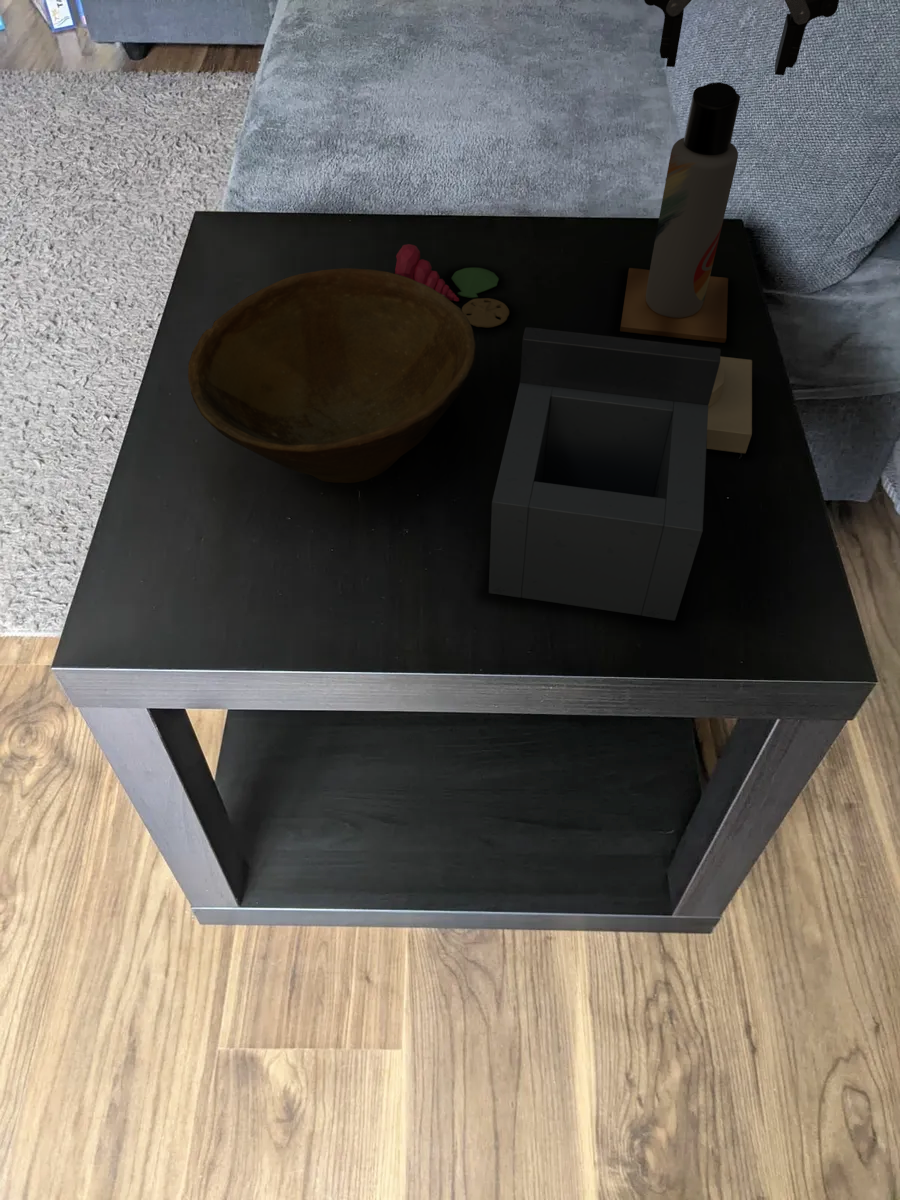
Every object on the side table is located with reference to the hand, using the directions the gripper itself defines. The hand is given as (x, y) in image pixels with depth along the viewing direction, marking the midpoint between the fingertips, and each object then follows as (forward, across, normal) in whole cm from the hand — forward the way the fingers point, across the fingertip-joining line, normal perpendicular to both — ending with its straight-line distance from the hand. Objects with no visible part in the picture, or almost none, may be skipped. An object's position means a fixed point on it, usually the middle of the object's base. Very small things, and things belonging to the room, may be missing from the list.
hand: (724, 67), depth 75 cm
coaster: (+22, 0, 0) cm, 22 cm away
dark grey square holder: (+22, -5, -32) cm, 39 cm away
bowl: (+22, -27, -25) cm, 43 cm away
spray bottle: (+22, 0, 0) cm, 22 cm away
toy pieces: (+22, -22, -3) cm, 32 cm away
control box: (+22, +1, -15) cm, 27 cm away
